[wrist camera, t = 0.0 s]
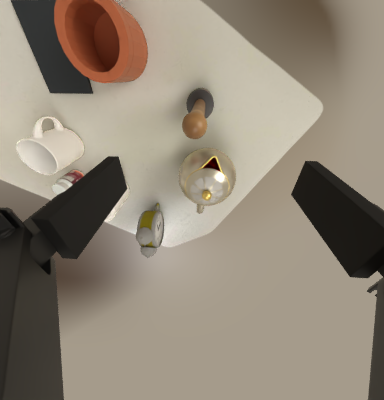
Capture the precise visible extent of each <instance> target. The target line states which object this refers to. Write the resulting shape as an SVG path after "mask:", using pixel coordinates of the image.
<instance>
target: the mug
mask: <svg viewBox="0 0 384 400" xmlns="http://www.w3.org/2000/svg"><path fill="white" fill-rule="evenodd" d="M46 118H50V119H51V120H53V122H54V129H51V130H48V131H45V132H43V131H42V122H43V120H44V119H46ZM16 150H17V153H18V155H19V157H20V159H21V160H22V161H23V162H24V163H25V164H26V165H27V166H28V167H29V168H30V169H32V170H33V171H35V172H37V173H40V174H43V175H53V174H55V173H57V172H58V171H60V170H61V169H63V168H65V167H66V166H68V165H69V164H71V163H73V162H74V161H76V160H77V159H79V158H80V157H81V156H82V155H83V154H84V144H83V142H82V140H81V139H80V137H79V136H78V135H77V134H76V133H74V132H73V131H71V130H69V129H67V128H63V126H62V124H61V123H60V122H59V121H58V120H57V119H56V118H54V117H51V116H44V117H41V118H40V119H38V120H37V122H36V123H35V125H34V128H33V135H32V136H30V137H27V138H24V139H21V140H19V141H18V142H17V144H16Z"/></svg>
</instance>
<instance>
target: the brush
mask: <svg viewBox="0 0 384 400" xmlns="http://www.w3.org/2000/svg"><path fill="white" fill-rule="evenodd" d="M213 106H214V102H213V98H212V95H211V93H210V92H209V91H208V90H206V89H204V88H198V89H196V90H194V91H193V92H192V93H191V94H190V95H189V97H188V99H187V110H188V114H187V115H186V116H185V117H184V119H183V122H182V129H183V132H184V133H185V135H186V136H187V137H189V138H191V139H198V138H200V137H202V136H203V135H204V134H205V132H206V130H207V121H206V118H207V117H208V116H209V115H210V114H211V113H212V110H213Z"/></svg>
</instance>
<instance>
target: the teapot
mask: <svg viewBox="0 0 384 400" xmlns="http://www.w3.org/2000/svg"><path fill="white" fill-rule="evenodd" d="M235 182H236V171H235V167H234V165H233V163H232V161H231V160H230V158H229V157H228V156H227V155H226V154H224V153H223V152H221V151H219V150H217V149H213V148H202V149H199V150H196V151H194V152H192V153H191V154H189V155H188V156H187V157H186V158H185V160H184V161H183V163H182V165H181V167H180V170H179V184H180V187H181V190H182V192H183V193H184V195H185V196H186V197H187V198H188V199H189V200H191V201H192V202H194V203H196V204H197V212H198V213H199V214H200V213H202V212H203V209H204V206H210V205H215V204H218V203H220V202H222V201H223V200H225V199H226V198H227V197H228V196H229V195H230V194H231V192H232V190H233V188H234V186H235Z"/></svg>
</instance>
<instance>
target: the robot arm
mask: <svg viewBox="0 0 384 400" xmlns="http://www.w3.org/2000/svg"><path fill="white" fill-rule="evenodd" d="M127 189H128V188H127V185H126V181H125V178H124V174H123V171H122V167H121V164H120V160H119V157H110V156H108V157H107V158H106V159H105V160H103V161H102V162H101V163H100V164H98V165H97V166H96V167H95V168H93V169H92V170H91V171H90V172H88V173H87V174H86V175H85V176H83V177H82V178H81V179H80V180H78V181H77V182H76V183H75V184H73V185H72V186H71V187H69V188H68V189H67V190H66V191H64V192H62V193H60V194H58V195H57V196H56V197H54V198H53V199H52V201H49V202H48V203H47V204H46V206H43V207H42V208H40V209H39V210H38V211H37V212H35V213H34V214H33V215H32V216H30V217H29V218H28V219H26V220H25V221H24V222H22V221H21V220H20V219H19V218H18V216H17V215H16V214H15V213H14V212H13V211H12V210H11V209H9V208H0V400H64V396H63V380H62V364H61V349H60V334H59V333H60V332H59V316H58V302H57V301H58V300H57V285H56V269H55V260H54V258H53V257H52V256H53V255H54V253H55V252H56V251H57V252H58V253H59V254H60V255H61V257H62V258H70V259H77V258H78V257H79V255H80V254H81V252H82V251H83V250H84V248H85V247H86V246H87V244H88V243H89V241H90V240H91V239H92V237H93V236H94V234H95V233H96V231H97V230H98V229H99V227H100V226H101V225H102V223H103V222H104V221H105V219H106V218H107V216H108V215H109V214H110V212H111V211H112V209H113V208H114V207H115V205H116V204H117V202H118V201H119V200H120V198H121V197H122V196H123V194H124V193H125V191H126V190H127ZM291 195H292V196H293V198H294V199H295V200H296V202H297V203H298V204H299V206H300V207H301V209H302V210H303V212H304V213H305V215H306V216H307V217H308V219H309V220H310V221H311V223H312V224H313V225H314V227H315V229H316V230H317V231H318V233H319V234H320V236H321V237H322V238H323V240H324V241H325V242H326V244H327V245H328V247H329V248H330V250H331V251H332V252H333V254H334V255H335V256H336V258H337V259H338V261H339V262H340V264H341V265H342V266H343V268H344V269H345V271H346V272H347V273H348V275H349V276H350V277H357V278H369V277H370V276H371V275H372V274H374V273H375V272H376V271H378V272H379V273H380V274H381V275H382V276H383V278H382V279H380V280H379V281H378V282H376V283H375V284H374V285H372V286H371V287H370V288H369V289H368V290H367V292H369V293H371V292H372V291H374V290H377V294H376V295H375V296H376V297H377V301H376V313H375V324H374V336H373V348H372V360H371V372H370V384H369V396H368V400H384V210H382V209H381V208H380V207H378V206H377V205H375V204H373V203H371V202H370V201H368V200H367V199H366V198H364V197H363V196H362V195H360V194H359V193H358V192H356V191H355V190H354V189H353V188H351V187H350V186H349V185H347V184H346V183H345V182H343V181H342V180H341V179H340V178H338V177H337V176H336V175H334V174H333V173H332V172H330V171H329V170H328V169H326V168H325V167H324V166H323V165H321V164H320V163H318V162H317V161H305V164H304V166H303V168H302V170H301V173H300V175H299V177H298V180H297V182H296V185H295V187H294V189H293V191H292V194H291Z"/></svg>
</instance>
